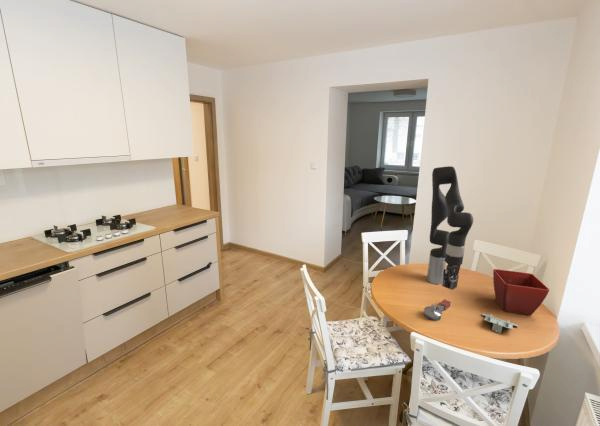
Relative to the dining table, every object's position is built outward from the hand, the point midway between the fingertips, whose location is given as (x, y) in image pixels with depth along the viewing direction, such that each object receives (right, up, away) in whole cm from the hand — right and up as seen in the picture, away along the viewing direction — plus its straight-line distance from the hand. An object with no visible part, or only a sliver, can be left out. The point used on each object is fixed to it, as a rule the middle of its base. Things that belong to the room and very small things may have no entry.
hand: (449, 285), depth 145 cm
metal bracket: (+23, -19, -1) cm, 30 cm away
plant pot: (+42, -15, +15) cm, 47 cm away
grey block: (0, 0, 0) cm, 0 cm away
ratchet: (-2, -16, +8) cm, 18 cm away
